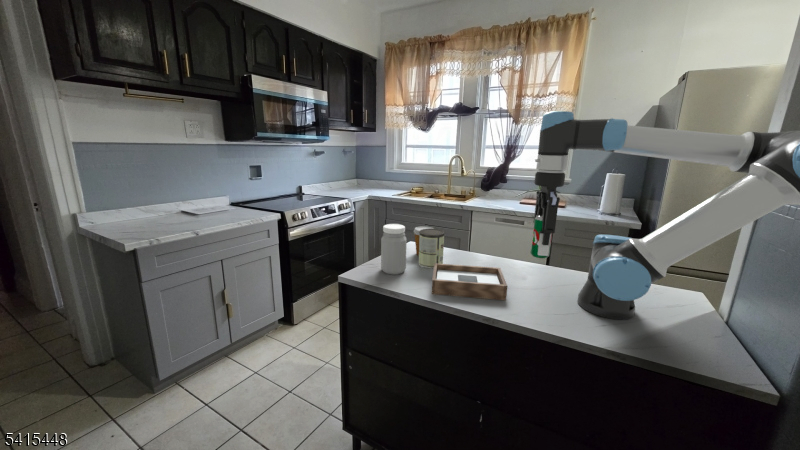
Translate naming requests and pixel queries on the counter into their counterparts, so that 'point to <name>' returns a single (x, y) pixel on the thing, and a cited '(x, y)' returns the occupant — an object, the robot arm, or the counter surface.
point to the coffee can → (431, 247)
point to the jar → (393, 249)
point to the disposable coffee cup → (417, 234)
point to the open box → (469, 283)
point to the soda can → (537, 237)
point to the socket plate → (467, 276)
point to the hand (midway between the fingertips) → (540, 251)
